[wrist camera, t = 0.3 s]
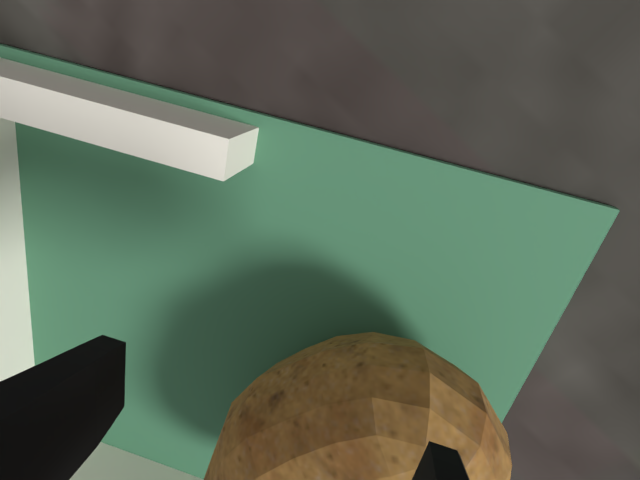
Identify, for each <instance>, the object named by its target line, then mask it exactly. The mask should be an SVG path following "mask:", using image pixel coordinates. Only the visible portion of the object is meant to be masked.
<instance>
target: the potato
mask: <svg viewBox="0 0 640 480" xmlns="http://www.w3.org/2000/svg"><path fill="white" fill-rule="evenodd" d="M429 441H431V442H434V443H437V444H440V445H443V446H446V447H449V448H452V449H455V450H457V451H458V453H459V454H460V456H461V459H462V461H463V464H464V466H465V469H466V472H467V474H468V477H469V479H470V480H510V476H511V467H512V462H511V456H510V449H509V442H508V435H507V432H506V430H505V429H504V427H503V425H502V423H501V422H500V420H499V418H498V416H497V415H496V413H495V411H494V409H493V408H492V406H491V404H490V402H489V401H488V399H487V397H486V396H485V394H484V392H483V390H482V389H481V387H480V385H479V383H478V382H476V381H475V380H474V379H472V378H471V377H470V376H468V375H467V374H466V373H465V372H463V371H462V370H461V369H459V368H458V367H457V366H455V365H454V364H452V363H450V362H449V361H447V360H446V359H444V358H442V357H441V356H439V355H438V354H436V353H434V352H433V351H431V350H430V349H428V348H426V347H425V346H423V345H421V344H420V343H418V342H417V341H415V340H411V339H406V338H401V337H396V336H391V335H386V334H381V333H376V332H368V333H359V334H351V335H342V336H336V337H333V338H330V339H328V340H325V341H323V342H320V343H318V344H315V345H313V346H310V347H308V348H305V349H303V350H301V351H299V352H297V353H295V354H293V355H292V356H290V357H288V358H286V359H284V360H282V361H280V362H278V363H276V364H275V365H274V366H272V367H271V368H270V369H268V370H267V371H266V372H264V373H263V374H262V375H260V376H259V377H258V378H256V379H255V380H254V381H253V382H252V383H251V384H250V385H249V386H248V387H247V388H246V389H245V390H244V391H243V392H242V393H241V394H240V395H239V396H238V397H237V398H236V399H235V400H234V401H233V402H232V403H231V406H230V409H229V411H228V414H227V417H226V419H225V422H224V425H223V428H222V430H221V433H220V436H219V438H218V441H217V444H216V447H215V449H214V452H213V455H212V458H211V460H210V463H209V466H208V469H207V471H206V474H205V477H204V480H412V478H413V476H414V474H415V471H416V469H417V467H418V465H419V462H420V460H421V458H422V456H423V454H424V451H425V449H426V447H427V445H428V442H429Z"/></svg>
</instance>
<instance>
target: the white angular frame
mask: <svg viewBox="0 0 640 480" xmlns="http://www.w3.org/2000/svg"><path fill="white" fill-rule="evenodd" d="M15 122H17V123H21V124H24V125H28V126H31V127H35V128H38V129H42V130H45V131H49V132H52V133H56V134H59V135H63V136H66V137H70V138H73V139H77V140H80V141H84V142H87V143H91V144H94V145H98V146H101V147H105V148H108V149H112V150H115V151H119V152H122V153H126V154H129V155H133V156H136V157H140V158H143V159H147V160H150V161H154V162H157V163H161V164H164V165H168V166H171V167H175V168H178V169H182V170H185V171H189V172H192V173H196V174H199V175H203V176H206V177H210V178H213V179H217V180H220V181H225V180H227V179H228V178H230V177H232V176H233V175H235V174H237V173H238V172H240V171H242V170H243V169H245V168H247V167H248V166H250V165H252V164H253V163H254V156H255V150H256V144H257V137H258V131H259V127H256V126H252V125H249V124H245V123H241V122H238V121H234V120H230V119H226V118H223V117H219V116H215V115H212V114H208V113H204V112H200V111H197V110H193V109H189V108H186V107H182V106H178V105H174V104H171V103H167V102H163V101H160V100H156V99H152V98H149V97H145V96H141V95H137V94H134V93H130V92H126V91H123V90H119V89H115V88H111V87H108V86H104V85H100V84H97V83H93V82H89V81H86V80H82V79H78V78H74V77H71V76H67V75H63V74H60V73H56V72H52V71H48V70H45V69H41V68H37V67H34V66H30V65H26V64H22V63H19V62H15V61H11V60H8V59H4V58H0V381H3V380H5V379H7V378H9V377H11V376H14V375H16V374H18V373H20V372H22V371H25V370H27V369H29V368H31V367H33V366H35V363H34V350H33V338H32V326H31V313H30V301H29V288H28V276H27V264H26V251H25V239H24V227H23V214H22V202H21V189H20V177H19V165H18V152H17V140H16V127H15ZM70 480H204V479H201V478H198V477H196V476H193V475H190V474H187V473H185V472H182V471H179V470H176V469H174V468H171V467H168V466H165V465H163V464H160V463H157V462H154V461H152V460H149V459H146V458H143V457H141V456H138V455H135V454H132V453H130V452H127V451H124V450H121V449H119V448H116V447H113V446H110V445H108V444H105V443H102V442H100V443H99V445H98V446H97V448H96V449H95V450H94V451H93V452H92V454H91V455H90V456H89V457H88V458H87V460H86V461H85V462H84V463H83V464H82V465H81V467H80V468H79V469H78V470H77V471H76V472H75V474H74V475H73V476H72V477H71V478H70Z"/></svg>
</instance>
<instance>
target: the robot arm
mask: <svg viewBox="0 0 640 480" xmlns="http://www.w3.org/2000/svg"><path fill="white" fill-rule="evenodd" d="M125 365H126V342H124V341H120V340H117V339H114V338H111V337H108V336H105V335H101V336H99V337H96V338H94V339H92V340H89V341H87V342H85V343H83V344H81V345H78V346H76V347H74V348H72V349H70V350H68V351H66V352H64V353H61V354H59V355H57V356H55V357H53V358H51V359H49V360H46V361H44V362H42V363H40V364H38V365H36V366H33V367H31V368H29V369H27V370H25V371H22V372H20V373H18V374H16V375H14V376H11V377H9V378H7V379H5V380H3V381H0V480H70V478H71V477H72V476H73V475H74V474H75V472H76V471H77V470H78V469H79V468H80V467H81V465H82V464H83V463H84V462H85V461H86V460H87V458H88V457H89V456H90V455H91V454H92V452H93V451H94V450H95V449H96V448H97V446H98V445H99V443H100V442H101V440H102V439H103V438H104V436H105V435H106V433H107V432H108V430H109V429H110V428H111V426H112V425H113V423H114V422H115V420H116V418H117V417H118V415H119V414H120V412H121V411H122V409H123V408H124V406H125ZM412 480H470V479H469V477H468V474H467V472H466V469H465V466H464V464H463V461H462V459H461V456H460V454H459V453H458V451H457V450H455V449H452V448H449V447H446V446H443V445H440V444H437V443H434V442H431V441H429V442H428V445H427V447H426V449H425V451H424V454H423V456H422V458H421V460H420V462H419V465H418V467H417V469H416V471H415V474H414V476H413V478H412Z"/></svg>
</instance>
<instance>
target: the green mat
mask: <svg viewBox="0 0 640 480" xmlns="http://www.w3.org/2000/svg"><path fill="white" fill-rule="evenodd" d="M0 58H4V59H8V60H11V61H15V62H19V63H22V64H26V65H30V66H34V67H37V68H41V69H45V70H48V71H52V72H56V73H60V74H63V75H67V76H71V77H74V78H78V79H82V80H86V81H89V82H93V83H97V84H100V85H104V86H108V87H111V88H115V89H119V90H123V91H126V92H130V93H134V94H137V95H141V96H145V97H149V98H152V99H156V100H160V101H163V102H167V103H171V104H174V105H178V106H182V107H186V108H189V109H193V110H197V111H200V112H204V113H208V114H212V115H215V116H219V117H223V118H226V119H230V120H234V121H238V122H241V123H245V124H249V125H252V126H256V127H259V131H258V137H257V144H256V150H255V156H254V163H253V164H252V165H250V166H248V167H247V168H245V169H243V170H242V171H240V172H238V173H237V174H235V175H233V176H232V177H230V178H228V179H227V180H225V181H220V180H217V179H213V178H210V177H206V176H203V175H199V174H196V173H192V172H189V171H185V170H182V169H178V168H175V167H171V166H168V165H164V164H161V163H157V162H154V161H150V160H147V159H143V158H140V157H136V156H133V155H129V154H126V153H122V152H119V151H115V150H112V149H108V148H105V147H101V146H98V145H94V144H91V143H87V142H84V141H80V140H77V139H73V138H70V137H66V136H63V135H59V134H56V133H52V132H49V131H45V130H42V129H38V128H35V127H31V126H28V125H24V124H21V123H17V122H15V127H16V140H17V152H18V165H19V177H20V189H21V202H22V214H23V227H24V239H25V251H26V264H27V276H28V288H29V301H30V313H31V326H32V338H33V350H34V363H35V366H36V365H38V364H40V363H42V362H44V361H46V360H49V359H51V358H53V357H55V356H57V355H59V354H61V353H64V352H66V351H68V350H70V349H72V348H74V347H76V346H78V345H81V344H83V343H85V342H87V341H89V340H92V339H94V338H96V337H99V336H101V335H105V336H108V337H111V338H114V339H117V340H120V341H124V342H126V365H125V406H124V408H123V409H122V411H121V412H120V414H119V415H118V417H117V418H116V420H115V422H114V423H113V425H112V426H111V428H110V429H109V430H108V432H107V433H106V435H105V436H104V438H103V439H102V440H101V442H102V443H105V444H108V445H110V446H113V447H116V448H119V449H121V450H124V451H127V452H130V453H132V454H135V455H138V456H141V457H143V458H146V459H149V460H152V461H154V462H157V463H160V464H163V465H165V466H168V467H171V468H174V469H176V470H179V471H182V472H185V473H187V474H190V475H193V476H196V477H198V478H201V479H204V477H205V474H206V471H207V469H208V466H209V463H210V460H211V458H212V455H213V452H214V449H215V447H216V444H217V441H218V438H219V436H220V433H221V430H222V428H223V425H224V422H225V419H226V417H227V414H228V411H229V409H230V406H231V403H232V402H233V401H234V400H235V399H236V398H237V397H238V396H239V395H240V394H241V393H242V392H243V391H244V390H245V389H246V388H247V387H248V386H249V385H250V384H251V383H252V382H253V381H254V380H255V379H256V378H258V377H259V376H260V375H262V374H263V373H264V372H266V371H267V370H268V369H270V368H271V367H272V366H274V365H275V364H276V363H278V362H280V361H282V360H284V359H286V358H288V357H290V356H292V355H293V354H295V353H297V352H299V351H301V350H303V349H305V348H308V347H310V346H313V345H315V344H318V343H320V342H323V341H325V340H328V339H330V338H333V337H336V336H342V335H351V334H359V333H368V332H376V333H381V334H386V335H391V336H396V337H401V338H406V339H411V340H415V341H417V342H418V343H420V344H421V345H423V346H425V347H426V348H428V349H430V350H431V351H433V352H434V353H436V354H438V355H439V356H441V357H442V358H444V359H446V360H447V361H449V362H450V363H452V364H454V365H455V366H457V367H458V368H459V369H461V370H462V371H463V372H465V373H466V374H467V375H468V376H470V377H471V378H472V379H474V380H475V381H476V382H478V383H479V385H480V387H481V389H482V390H483V392H484V394H485V396H486V397H487V399H488V401H489V402H490V404H491V406H492V408H493V409H494V411H495V413H496V415H497V416H498V418H499V420H500V422H501V423H502V421H503V420H504V418H505V416H506V414H507V412H508V411H509V409H510V407H511V405H512V403H513V402H514V400H515V398H516V396H517V394H518V393H519V391H520V389H521V387H522V385H523V384H524V382H525V380H526V378H527V376H528V375H529V373H530V371H531V369H532V367H533V366H534V364H535V362H536V360H537V358H538V357H539V355H540V353H541V351H542V349H543V348H544V346H545V344H546V342H547V340H548V339H549V337H550V335H551V333H552V331H553V330H554V328H555V326H556V324H557V323H558V321H559V319H560V317H561V315H562V314H563V312H564V310H565V308H566V306H567V305H568V303H569V301H570V299H571V297H572V296H573V294H574V292H575V290H576V288H577V287H578V285H579V283H580V281H581V279H582V278H583V276H584V274H585V272H586V270H587V269H588V267H589V265H590V263H591V261H592V260H593V258H594V256H595V254H596V252H597V251H598V249H599V247H600V245H601V243H602V242H603V240H604V238H605V236H606V234H607V233H608V231H609V229H610V227H611V225H612V224H613V222H614V220H615V218H616V216H617V215H618V213H619V211H620V210H619V209H617V208H616V207H614V206H610V205H606V204H602V203H599V202H595V201H591V200H587V199H584V198H580V197H576V196H572V195H569V194H565V193H561V192H557V191H554V190H550V189H546V188H542V187H538V186H535V185H531V184H527V183H523V182H520V181H516V180H512V179H508V178H505V177H501V176H497V175H493V174H490V173H486V172H482V171H478V170H475V169H471V168H467V167H463V166H459V165H456V164H452V163H448V162H444V161H441V160H437V159H433V158H429V157H426V156H422V155H418V154H414V153H411V152H407V151H403V150H399V149H396V148H392V147H388V146H384V145H381V144H377V143H373V142H369V141H365V140H362V139H358V138H354V137H350V136H347V135H343V134H339V133H335V132H332V131H328V130H324V129H320V128H317V127H313V126H309V125H305V124H302V123H298V122H294V121H290V120H286V119H283V118H279V117H275V116H271V115H268V114H264V113H260V112H256V111H253V110H249V109H245V108H241V107H238V106H234V105H230V104H226V103H223V102H219V101H215V100H211V99H207V98H204V97H200V96H196V95H192V94H189V93H185V92H181V91H177V90H174V89H170V88H166V87H162V86H159V85H155V84H151V83H147V82H144V81H140V80H136V79H132V78H129V77H125V76H121V75H117V74H113V73H110V72H106V71H102V70H98V69H95V68H91V67H87V66H83V65H80V64H76V63H72V62H68V61H65V60H61V59H57V58H53V57H50V56H46V55H42V54H38V53H34V52H31V51H27V50H23V49H19V48H16V47H12V46H8V45H4V44H1V43H0Z"/></svg>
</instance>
